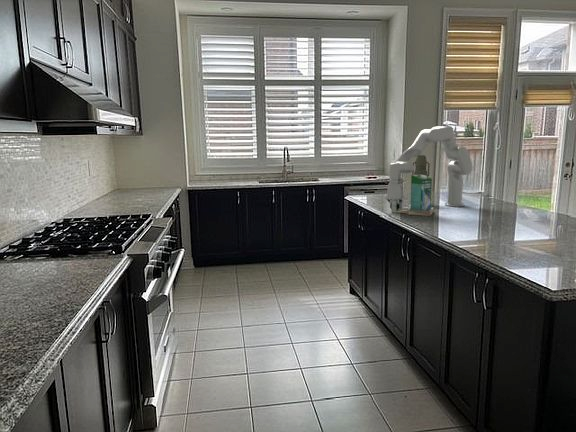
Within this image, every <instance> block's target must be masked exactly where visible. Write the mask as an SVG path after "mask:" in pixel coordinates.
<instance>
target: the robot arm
mask: <svg viewBox="0 0 576 432" xmlns="http://www.w3.org/2000/svg"><path fill="white" fill-rule="evenodd" d="M454 134H455V129H454V128H453V127H452V126H450V125H445V126H444V125H443V126H442V125H440V126H439V125H438V126H436V125H435V126H433V127H432V128H425V129H422V130H421V131H420V132H419V134H418V135H417V136H416V138H415V140H414V141H413V143H412V144H411V146H410V147H409V148H407V149H406V150H405V151H404V152H402V153H401V154H400V155H399V156H398V158H397V159H396V160H395V162H392V163H389V166H388V167H389V170H388V171H389V177H388V180H389V182H388V183H387V184H388V185H387V189H386V190H387V191H386V196H385V197H384V200H386V201H387V202H388V203H389V208H390V211H391V210H392V200H393V199H397V210H400V209H399V204H400V202H401V201H402V202H403V201H405V200H406V197H405V196H404V186H403V185H404V184H403V183H404V179H402V174H405V175H406V174H408V175H409V174H412V171H413V170H414V171H415V169H414V168H415V167H414V166H413V163H411V162H409V161H410V160H411V159H413V158H416V157H417V156H418V155H423V152H424V151H425V150H426V148H427V146H428V145H429V143H439V142H441V144H442V146H443V150H444V152H445V157H446V159H447V160H449V163H448V164H447V175H448V185H447V186H448V187H447V202H445V204H444V205H445V206H446V207H464V206H465V204H464V203H462V202H463V185H464V178H463V176H468V175H470V174H471V173H472V172H473V162H472V159H471V155H470V152H469V150H468V149H467V147H465V146H460V145H458V144H457V142H456V139H455V137H454ZM400 199H401V200H400Z"/></svg>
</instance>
